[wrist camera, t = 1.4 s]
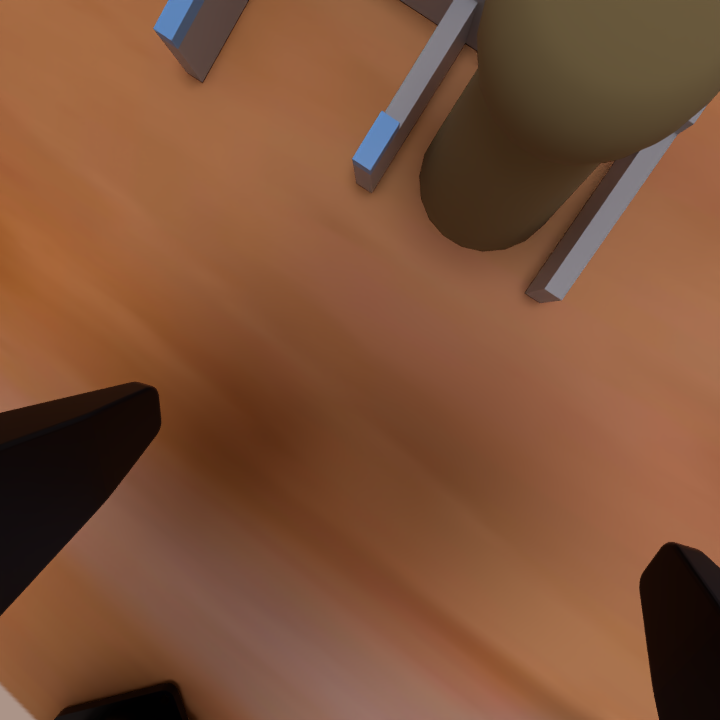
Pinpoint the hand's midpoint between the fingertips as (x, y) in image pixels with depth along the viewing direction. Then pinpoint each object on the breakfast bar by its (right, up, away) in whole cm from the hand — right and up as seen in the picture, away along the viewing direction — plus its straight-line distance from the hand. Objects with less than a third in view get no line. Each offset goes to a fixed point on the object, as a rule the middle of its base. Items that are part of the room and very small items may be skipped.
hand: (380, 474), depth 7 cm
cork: (+5, +10, +11) cm, 15 cm away
